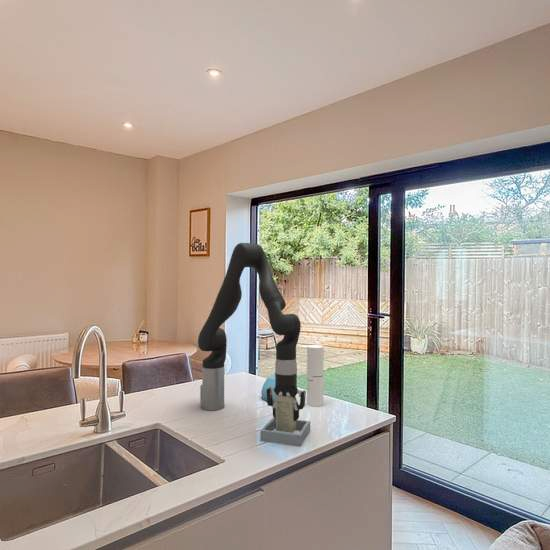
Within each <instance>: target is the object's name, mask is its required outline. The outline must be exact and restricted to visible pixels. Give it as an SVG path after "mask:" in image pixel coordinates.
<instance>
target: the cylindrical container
mask: <svg viewBox="0 0 550 550" xmlns="http://www.w3.org/2000/svg"><path fill="white" fill-rule="evenodd" d="M324 347H325V346H324V345H320V344H309V345H306V405H308V406H309V407H323V406H324V387H325V385H324V379H325V378H324V375H325V374H324V372H325V371H324V370H325V369H324V352H325V350H324Z"/></svg>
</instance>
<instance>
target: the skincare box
mask: <svg viewBox="0 0 550 550" xmlns="http://www.w3.org/2000/svg"><path fill="white" fill-rule="evenodd" d="M292 398H293V397H287V396H278V395H276V396H275V408H276V428H275V431H278V432H286V433H294V432H295V431H297V430H296V421H294V410H295V409H294V407H293V405H292ZM295 398H296V399H297V395H296V396H295V397H294V398H293V400H294V401H295Z"/></svg>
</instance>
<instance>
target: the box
mask: <svg viewBox="0 0 550 550" xmlns="http://www.w3.org/2000/svg"><path fill="white" fill-rule="evenodd" d="M275 429H276V419H274V417H273V416H272V418H271V419H270V420H269V421H268V422H267V423H266V424H264V426H263V427H261V429H260V432H259V433H260V439H259V440H260V442H266V443H272V444H274V443H275V444H279V445H289V446H295V447H302V445H303V444H304V442H305V440H306V439H307V437H308V435H309V433H310V432H311V420H304V419H303V420H302V419H298V420H297V421H296V430H295V431H299V433H294V432H292V433H289V432H282V431H276V430H275Z"/></svg>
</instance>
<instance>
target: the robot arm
mask: <svg viewBox="0 0 550 550" xmlns="http://www.w3.org/2000/svg"><path fill="white" fill-rule="evenodd" d="M245 268H253V269H254V270H255V271H256V273H257V274H258V277H259V285H258V287H259V289H258V291H259V295H260V299H261V301H262V302H263V304H264V306H265V308H266V310H267V314H268V319H269V324H270V328H271V330H272V331H273V332H274V333H275V334H276V335H277V336H283V338H282V339H281V340H280V341H278V342H277V343H276V345H275V366H274V367H275V371H274V375H275V388H271V387H269V388H268V389H267V390H266V392H267V400H266V401H267V402H266V403H267V406H268V407H269V406H270V407H272V418H273V417H274V419H276V408H275V402H273V397H272V394H273V392H275V393H276V395H278V396H287V397H293V398H294V397H295V396H296V398H295V401H294V400H293V398H292V405H293V407H294V409H295V410H294V421H297V420H299V418H300V410H303V409H304V408H305V406H306V398H307V390H299V388H298V386H297V385H298V379H297V378H298V364H297V363H298V362H297V345H298V341H299V336H300V334H301V329H302V327H301V324H302V323H301V320H300V318H299V316H298V315H297V314H295V313H287V314H286V313H283V310H284V309H285V308H286V306H287V305H286V303H287V302H286V300H285V299H284V297H283V295H282V293H281V291H280V289H279V288H278V286H277V284H276V281H275V279H274V277H273V276H274V275H273V273H272V271H271V267H270V265H269V262H268V259H267V256H266V254H265V251H264V249H263V247H262V246H261V245H260V244H258V243H255V242H254V243H253V242H239V243H238V244H236V246H234V248H233V251H232V254H231V257H230V261H229V263H228V267H227V270H226V272H225V275H224V277H223V282H222V283H221V286H220V289H219V290H218V293H217V296H216V298H215V301H214V303H213V305H212V308H211V310H210V313H209V315H208V316H207V319H206V321H205V323H204V325H203V326H202V328H201V330H200V332H199V333H198V334H199V335H198V338H197V345H198V348H199V349H200V351H202V352H210V354H209V355H208V356H207V357H205V358H204V359H203V360H202V368H201V369H202V375H201V376H202V378H201V379H202V384H200V387H199V388H200V390H199V392H200V394H199V395H200V399H199V401H200V402H199V403H200V404H199V405H200V409H203V410H205V411H219V410H222V409H224V408H225V363H226V360H227V359H226V358H227V344H228V343H227V342H228V341H227V340H228V339H227V338H228V337H227V334H226V332H225V330H224V329H223V328H220V327H221V326H223V324H224V323H225V322H226V321H227V320H229V318H231V317H232V316H233V315H234V313H235V312H236V311H237V309H238V306H239V304H240V302H241V300H242V297H243V296H242V295H243V294H242V293H243V292H242V286H241V281H240V280H241V276H242V273H243V272H244V269H245ZM297 395H298V397H299V398H300V400H299V402H298V399H297Z"/></svg>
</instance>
